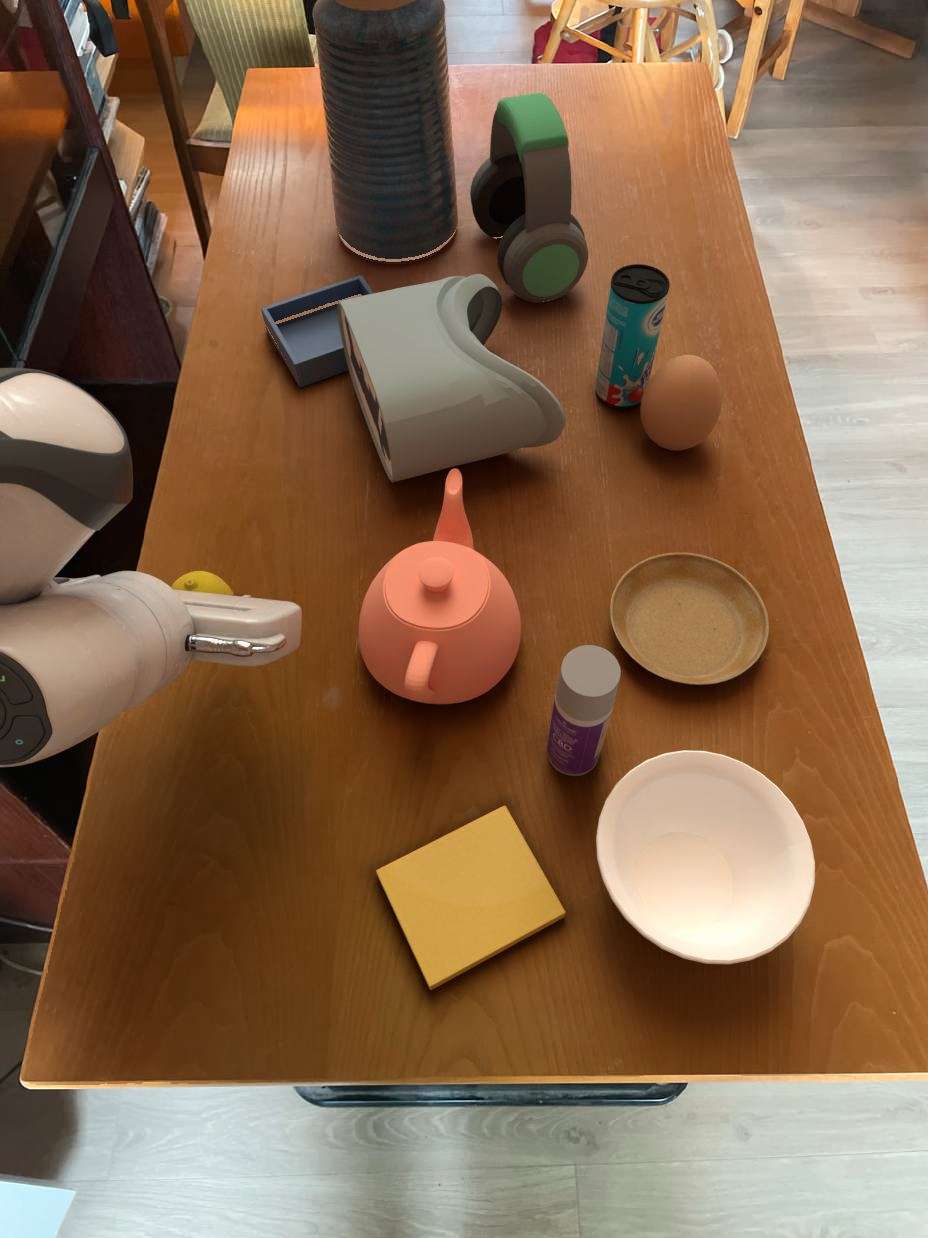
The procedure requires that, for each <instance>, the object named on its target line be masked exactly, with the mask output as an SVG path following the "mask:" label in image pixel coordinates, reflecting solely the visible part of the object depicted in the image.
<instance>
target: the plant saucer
mask: <svg viewBox="0 0 928 1238" xmlns="http://www.w3.org/2000/svg"><path fill="white" fill-rule="evenodd" d="M768 615H769V613H768V611H767V608H766V605H765V603H764V601H763V599H762V597H761V595H760V594H759V592H758V591H757V589H756V588H755V587H754V585H753V584H752V583H751V582H750V581H749V580H748V579H747V578H746V577H745V576H744V574H741V572H738V571H737V570H736V569H735V568H734V567H732V566H730V565H728V564H726V563H724V562H723V561H720V560H718V559H716V558H713V557H711V556H708V555H703V554H698V553H695V552H694V553H693V552H667V553H661V554H657V555H654V556H650V557H647V558H646V559H644V560H641V561H639V562H638V563H636V564H634V565H633V566H632V567H630V568H629V569H628V570H627V571H626V572H625V573H624V574H623V575H622V576H621V577H620V579H619V580H618V582H617V583H616V586H615V587H614V589H613V592H612V594H611V598H610V605H609V616H610V622H611V627H612V629H613V632H614V634H615V637H616V639H617V641H618V642H619V644H620V645H621V647H622V649H624V651H625V652H626V653H627V655H629V656H630V657H631V658H632V659H633V660H634V661H635V662H636V663H637V664H638V665H640V666H641V667H642V668H644V669H645V670H647V671H648V672H650V673H652V674H654V675H656V676H658V677H660V678H663V679H665V680H668V681H672V682H676V683H679V684H685V685H697V686H701V685H702V686H704V685H715V684H718V683H723V682H726V681H729V680H732V679H735V678H736V677H739V676H740V675H742V674H743V673H745V672H746V671H748V670H749V669H750V668H751V667H752V666H753V665H754V664H756V662H757V661H758V659H759V658H760V657H761V656H762V654H763V652H764V650H765V649H766V646H767V643H768V639H769V635H770V634H769V633H770V625H769V624H770V622H769V616H768Z"/></svg>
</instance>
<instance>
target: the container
mask: <svg viewBox="0 0 928 1238" xmlns="http://www.w3.org/2000/svg"><path fill="white" fill-rule="evenodd" d="M621 674H622V672H621V666H620V664H619V661H618V659H617V658H616V656H615V655H614V654H613V653H612V652H611V651H609V650H607V649H606V648H604V647H601V646H598V645H593V644H584V645H580V646H577V647H575V648H573V649H571V650H570V651H569V652H568V653H566V655H565V656H564V658H563V659H562V661H561V666H560V671H559V674H558V680H557V685H556V689H555V693H554V700H553V706H552V712H551V718H550V725H549V731H548V739H547V745H546V756H547V759H548V761H549V763H550V764H551V766H552V767H553V768H554V769H555V770H556V771H558V772H559V773H561V774H563V775H566V776H569V777H570V776H571V777H578V776H579V777H580V776H583V775H586V774H588V773H590V772H591V771H592V770H593V769H594V768H595V767H596V765H597V764H598V761H599V759H600V756H601V752H602V749H603V746H604V742H605V739H606V735H607V732H608V729H609V725H610V721H611V718H612V715H613V712H614V711H613V710H614V706H615V702H616V699H617V693H618V689H619V685H620V680H621Z"/></svg>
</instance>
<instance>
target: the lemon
mask: <svg viewBox="0 0 928 1238" xmlns="http://www.w3.org/2000/svg"><path fill="white" fill-rule="evenodd" d="M170 587H171V588H172V589H174V590H184V591H193V592H203V593H212V594H222V595H233V594H234V592H233V590H232V589H231V587H230V586H229V585H228V584H227V583H226V582H225V581H224V579H222V578H221V577H219V576H218V575H216V574H215V573H212V572H209V571H205V570H195V571H189V572H187V573H184V574H183V575H181V576H180V577H178V578H177V579H176V580H175V581H174V582H173V583H172V585H171V586H170Z"/></svg>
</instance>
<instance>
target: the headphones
mask: <svg viewBox="0 0 928 1238" xmlns="http://www.w3.org/2000/svg"><path fill="white" fill-rule="evenodd" d="M569 144H570V143H569V137H568V132H567V128H566V126H565V123H564V121H563V118H562V116H561V114H560V112H559V110H558V109H557V107H556V105H555V104H554V101H552V99H551V98H550V97H549V96H548V95H547V94H545V93H543V92H533V93H527V94H521V95H515V96H509V97H504V98H501V99H500V100H499V101H498V102H497V105H496V109H495V111H494V113H493V118H492V123H491V130H490V144H489V145H490V146H489V157H488V158H487V159H486V160H485V161H484V162H483V163H482V164H481V165H480V166H479V168H478V169H477V171H476V172H475V174H474V175H473V178H472V181H471V184H470V193H469V196H470V204H471V208H472V214H473V216H474V219H475V221H476V224H477V225H478V227H479V229H480V230H481V231H482V232H483V233H484V234H485V235H486V236H488V237H490V238H491V237H501V236H503V237H502V238H497V239H496V240H497V241H499V244H498V247H497V253H496V254H497V255H496V263H497V268H498V270H499V273H500V276H501V277H502V279H503V281H504V282H505V284H506V285H507V286H509V288H510V290H511V291H512V292H513V293H514V294H515V295H516V296H517V298H520V299H522V300H524V301H526V302H530V303H547V302H551V301H555V300H557V299H559V298H561V297H563V296H565V295H566V294H568V293H569V292H570V291H572V290H573V289H574V288H575V287H576V285H577V284H578V283H579V282H580V280H581V279H582V277H583V275H584V273H585V271H586V269H587V266H588V262H589V248H588V244H587V243H588V242H587V240H586V237H585V232H584V230H583V228H582V225H581V224H580V222H579V220H578V219H577V218H576V217H575V216H574V215H573V214H572V194H573V193H572V192H573V191H572V189H573V188H572V168H571V159H570V152H569ZM558 297H559V298H558ZM556 298H557V299H556ZM553 299H554V300H553ZM548 300H550V301H548ZM543 301H544V302H543Z"/></svg>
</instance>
